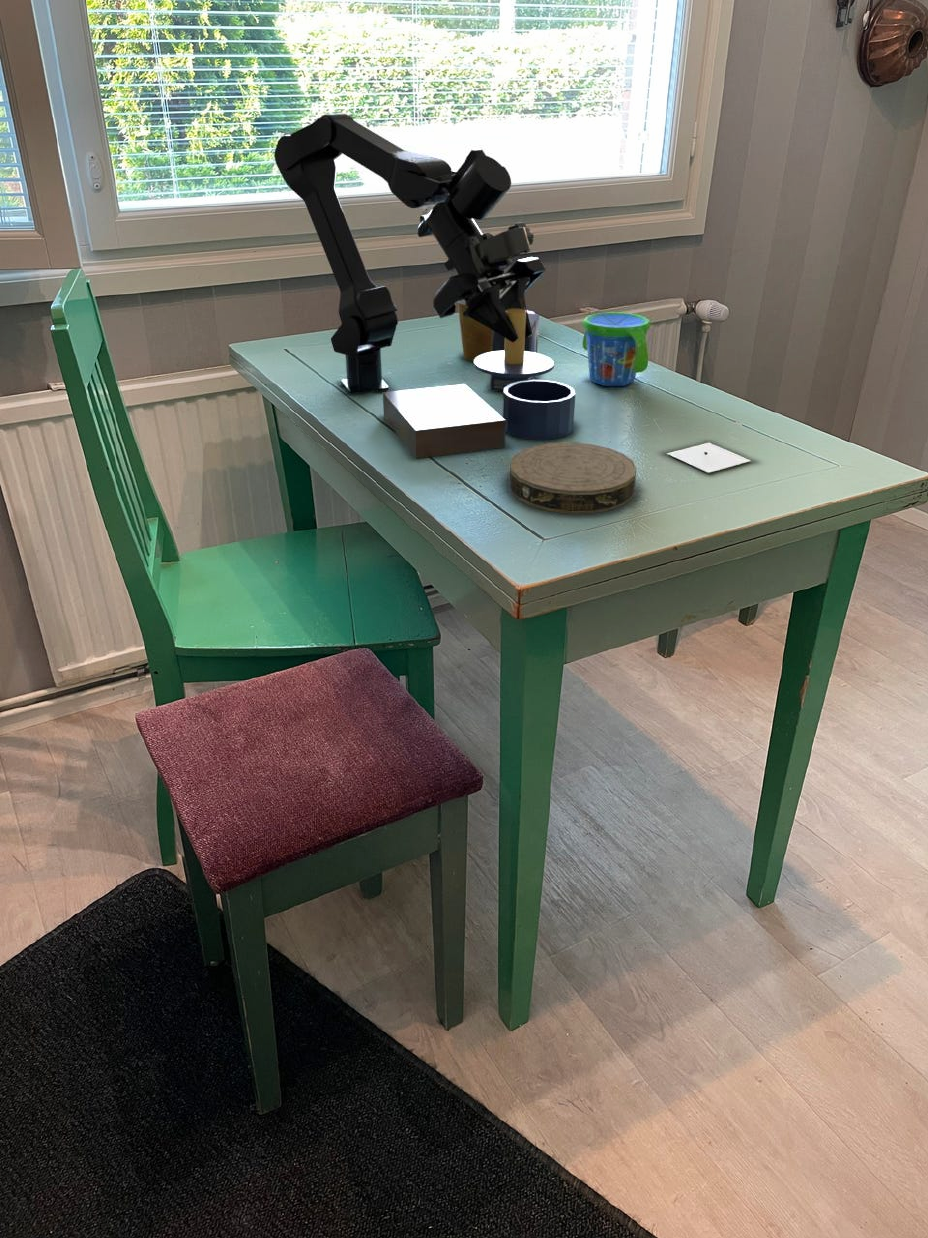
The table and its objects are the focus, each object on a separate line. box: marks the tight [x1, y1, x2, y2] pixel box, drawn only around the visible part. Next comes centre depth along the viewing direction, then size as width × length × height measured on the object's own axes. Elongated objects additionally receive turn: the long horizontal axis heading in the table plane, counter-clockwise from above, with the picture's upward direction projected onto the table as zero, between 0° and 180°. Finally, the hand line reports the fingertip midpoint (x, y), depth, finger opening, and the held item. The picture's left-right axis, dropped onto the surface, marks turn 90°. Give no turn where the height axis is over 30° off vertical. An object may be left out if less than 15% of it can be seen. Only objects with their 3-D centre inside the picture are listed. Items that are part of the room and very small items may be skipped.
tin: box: [502, 379, 576, 441], centre depth 137 cm, size 10×10×6 cm
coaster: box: [666, 442, 752, 473], centre depth 128 cm, size 8×8×1 cm
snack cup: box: [582, 311, 651, 387], centre depth 154 cm, size 16×10×10 cm
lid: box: [473, 308, 555, 378], centre depth 130 cm, size 11×11×8 cm
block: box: [382, 383, 506, 459], centre depth 135 cm, size 17×13×4 cm
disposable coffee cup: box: [456, 300, 493, 362], centre depth 166 cm, size 10×10×12 cm
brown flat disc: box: [508, 441, 637, 515], centre depth 119 cm, size 16×16×3 cm
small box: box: [489, 313, 540, 392], centre depth 153 cm, size 11×6×10 cm, turn 168°
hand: (522, 337), depth 129 cm, fingers closed on lid, 3 cm apart
